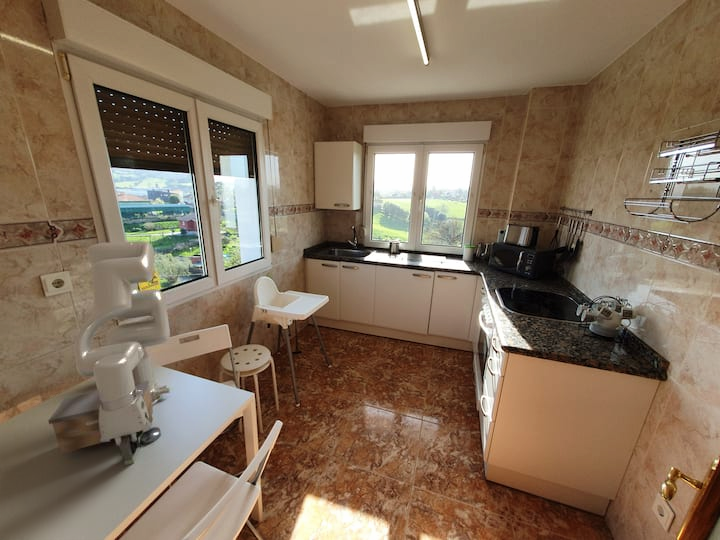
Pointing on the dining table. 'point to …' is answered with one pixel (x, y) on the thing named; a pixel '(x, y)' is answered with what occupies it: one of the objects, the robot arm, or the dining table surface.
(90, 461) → the dining table surface
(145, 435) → the grey rounded piece
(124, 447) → the scraper tool
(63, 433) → the walnut cabinet
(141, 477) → the dining table surface
